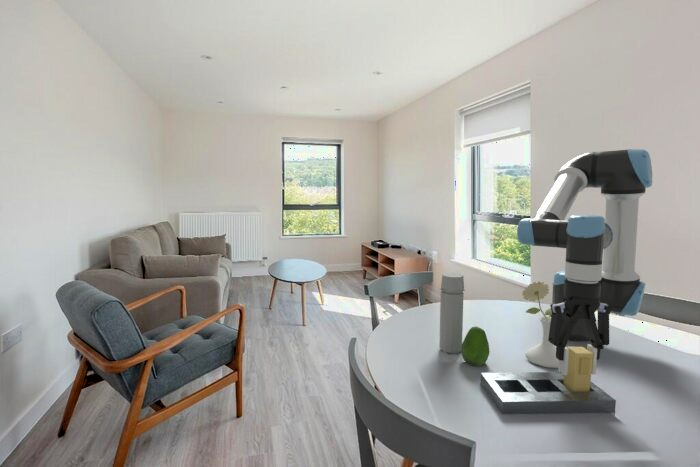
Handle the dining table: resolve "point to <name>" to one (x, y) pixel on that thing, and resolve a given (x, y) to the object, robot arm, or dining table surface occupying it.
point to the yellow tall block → (578, 370)
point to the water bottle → (451, 312)
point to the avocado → (475, 347)
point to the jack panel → (543, 394)
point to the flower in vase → (545, 350)
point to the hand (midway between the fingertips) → (576, 372)
